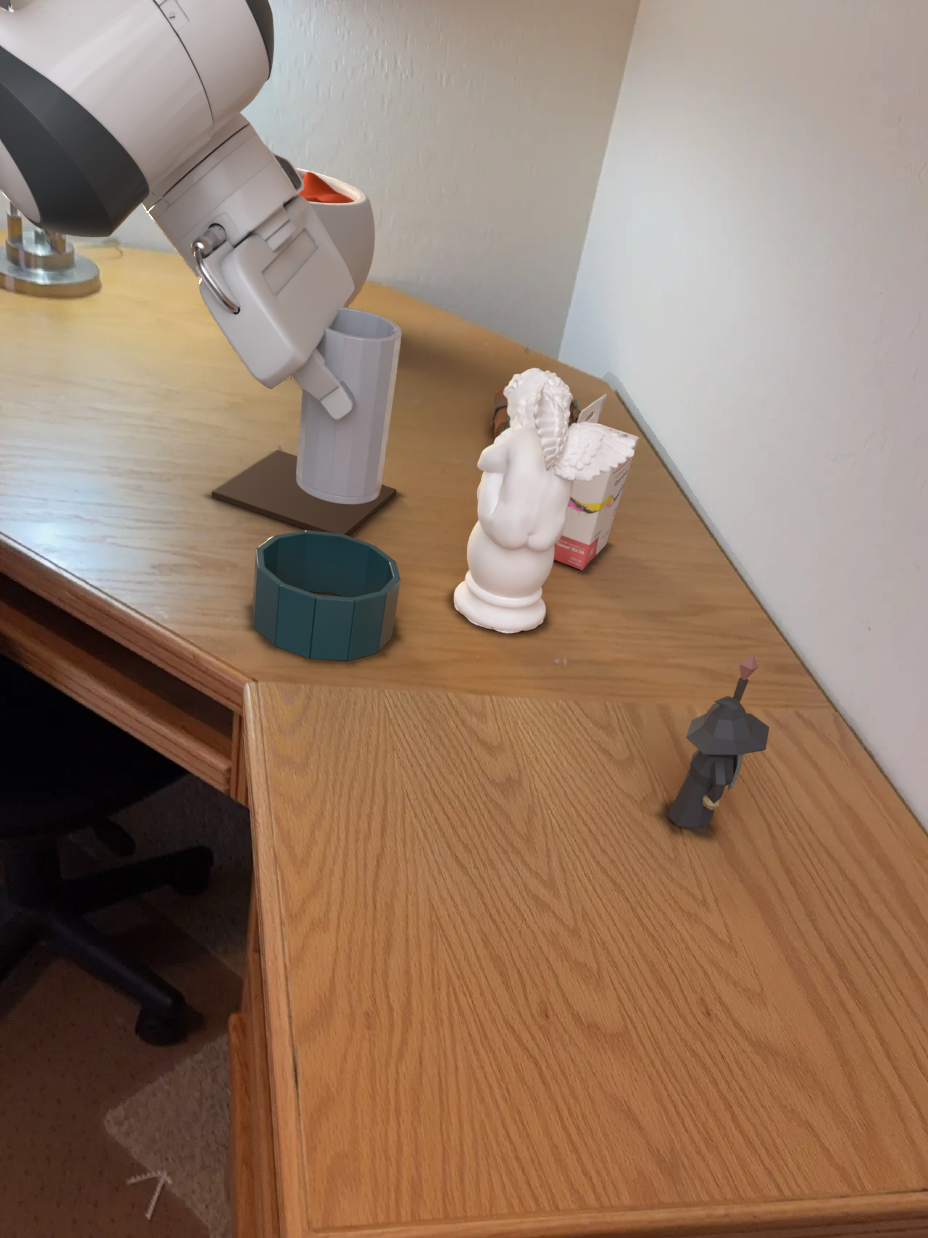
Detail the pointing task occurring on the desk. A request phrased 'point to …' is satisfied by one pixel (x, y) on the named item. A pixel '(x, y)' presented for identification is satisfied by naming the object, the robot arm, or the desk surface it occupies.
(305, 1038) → the desk surface
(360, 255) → the pot
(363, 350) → the cup
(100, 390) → the desk surface
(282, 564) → the teal faceted ring
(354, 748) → the desk surface
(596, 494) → the ink cartridge box
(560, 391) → the cherub figurine
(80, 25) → the robot arm
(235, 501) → the mat
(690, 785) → the wizard figurine
